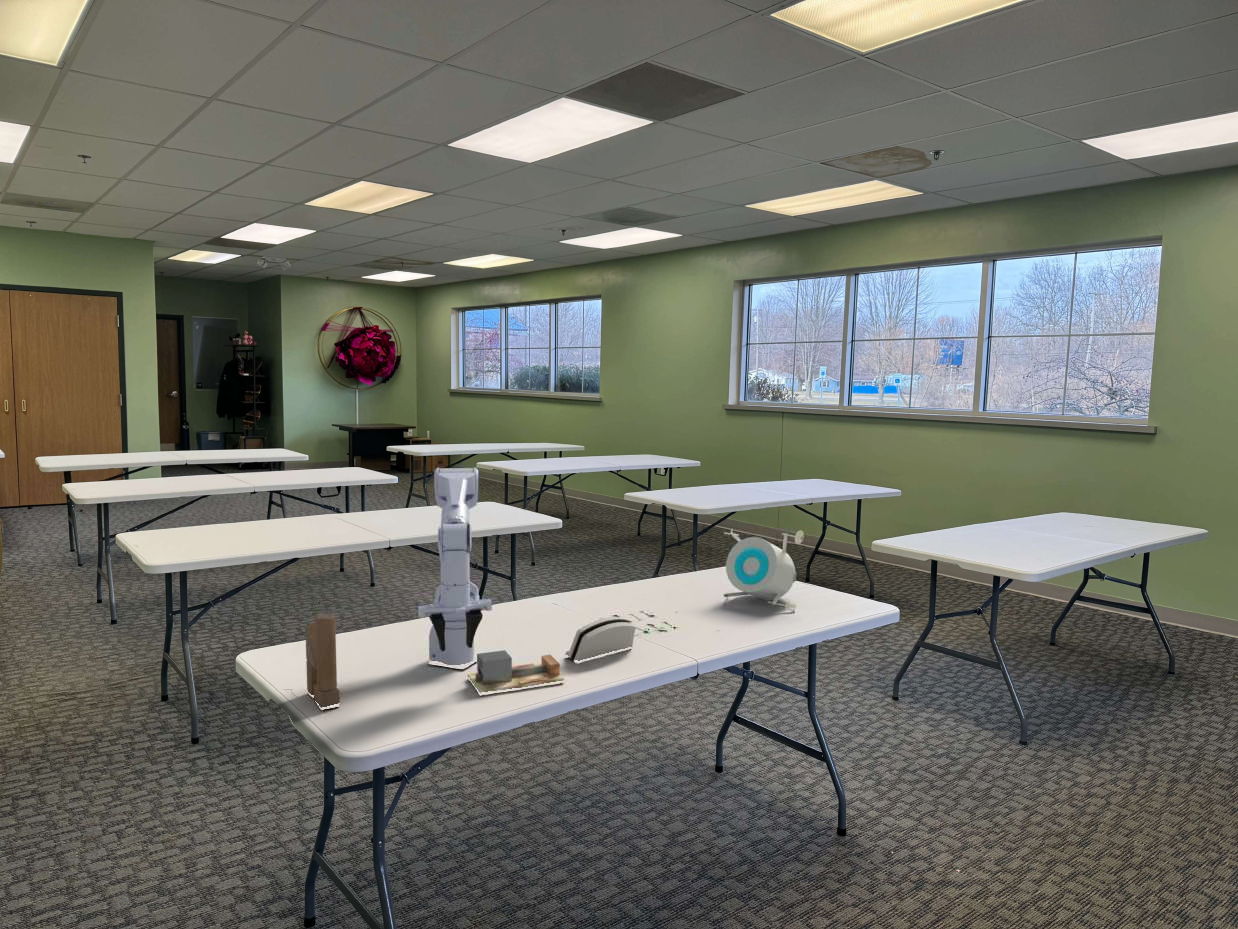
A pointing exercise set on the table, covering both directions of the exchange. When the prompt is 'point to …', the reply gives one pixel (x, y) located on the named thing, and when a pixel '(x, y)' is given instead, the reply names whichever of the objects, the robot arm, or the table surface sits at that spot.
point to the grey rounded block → (602, 638)
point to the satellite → (761, 568)
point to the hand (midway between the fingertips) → (455, 648)
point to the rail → (524, 676)
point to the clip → (494, 667)
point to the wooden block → (322, 660)
